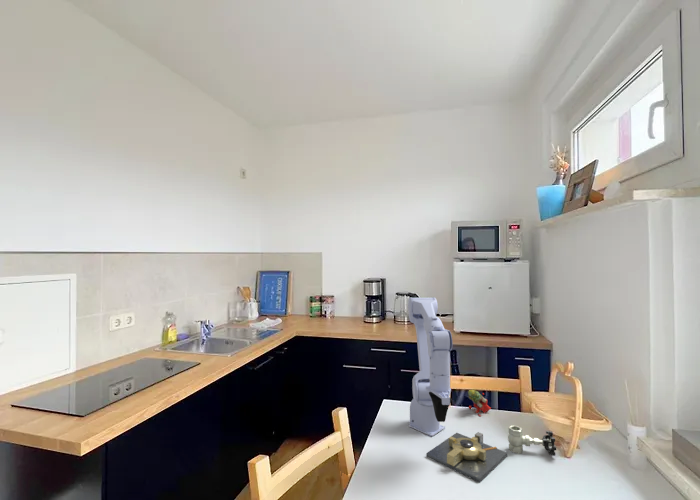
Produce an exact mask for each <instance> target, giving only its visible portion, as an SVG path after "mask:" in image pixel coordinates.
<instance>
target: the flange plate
mask: <svg viewBox="0 0 700 500" xmlns="http://www.w3.org/2000/svg"><path fill="white" fill-rule="evenodd" d="M450 437H454V438H456V439H457V438H469V439H471V438H472V437H469V436H466V435H465V434H464V435H463V434H461V433H458V432H455V433H454V434H453V435H451V436H450ZM450 437H448V438H447V439H445V440H444V441H442V442H440V443H439V444H438V445H436V446H435V447H433V448H432V449H431V450H429V451H428V452H426V454H425V455H426V458H428V459H430V460H432V461H434V462H436V463H438V464H440V465H442V466H444V467H447V468H449V469H450V470H452V471H454V472H456V473H459V474H461V475H463V476H465V477H467V478H469V479H471V480H473V481H474V482H477V483H479V484H480V483H482V481H484V479H485V478H487V476H488V475H489V474H491V473H492V471H494V470H495V469H496V468H497V467H498V466H499V465H500V464H501V463H502V462H503V461H504V460H506V458H507V457H508V452H506V451H504V450H501V449H499V448H498V447H496V446H492V445H489V444H487V443H484V434H483V433H481V432H479V431H478V432H476V433H475V434H474V437H476V438H478V443H479V444H480V445H481V447H482V449H483V450H485V451H486V459H485V460H484V461H483V460H481V459H476V460H466V459H462V460H461V461H460V462H459V463H457V464H456V465H455V466H452V465H450V464H447V454H448V453H449V452H450V451H452V447H451V446H449V438H450Z"/></svg>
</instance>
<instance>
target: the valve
mask: <svg viewBox="0 0 700 500" xmlns="http://www.w3.org/2000/svg"><path fill="white" fill-rule="evenodd" d="M553 434H554V433H553V431H552V430H551V431H550V430H545V434H544V435H543V436H542V438H541V439H540V438H537V437H530V434H524V435H523V427H520V426H518V425H514V424H513V425H510V426H508V435H507V440H508V450H509V451H511V452H512V453H514V454H522V453H523V450H524V449H523V447H524V445H525V446H526V447H531V445H532V444H533V445H534V446H540V445H542V446H543V448H544V449H545V450H546V451H547V452H548V454H549V456H553V457H554V456H555V457H556V451H557V447H556V445H555V443H556V438H555V437H553Z"/></svg>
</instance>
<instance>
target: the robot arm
mask: <svg viewBox="0 0 700 500" xmlns="http://www.w3.org/2000/svg"><path fill="white" fill-rule="evenodd" d="M438 306H439V304H438V300H437V298H436V297H434V296H433V297H432V296H431V297H409V298H408V300H407V311H408V318H409V322H410V323H412V324H414V327H415V332H416V343H417V356H418V366H419V367H418V368H419V371H418V372H417V373H416V374H415V375H413V376H412V377H413V378H412V381H411V382H412V384H411V385H412V387H411V389H412V397H413V398H412V400H411V402H410V405H409V424H408V427H410V428H412V429H414V430H416V431H418V432H421V433H423V434H425V435H427V436H430V437H433V436H435V435H436V434H438V433H439V432H441V431H443V430H445V429H446V426H444V425H442V424H440V423H445V422H446V417H447V413H448V410H449V407H450V405H451V404H452V402H453V399H452V397H451V392H452V388H451V351H452V350H453V346H454V345H453V336H452V332H451V330H449V329H446V328H445V327H444V324H443V322H442V320H441V319H440V317H439V316H437V313H438V311H439V310H438Z"/></svg>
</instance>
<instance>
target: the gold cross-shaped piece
mask: <svg viewBox="0 0 700 500" xmlns="http://www.w3.org/2000/svg"><path fill="white" fill-rule="evenodd" d="M448 438H449V446H451V447H452V451H450V452H449V453H448V454H447V464H450V465H452V466H455V465H456V464H457V463H459V462H460V461H461V460H462V459H466V460H476V459H481V460H483V461H484V460H485V459H486V451H485V450H483V449H482V447H481V445H480V444H479V443H478V438H476V437H475V436H472V437H469V438H471V439H469V438H457V439H456V438H454V437H451V436H449V437H448Z"/></svg>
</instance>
